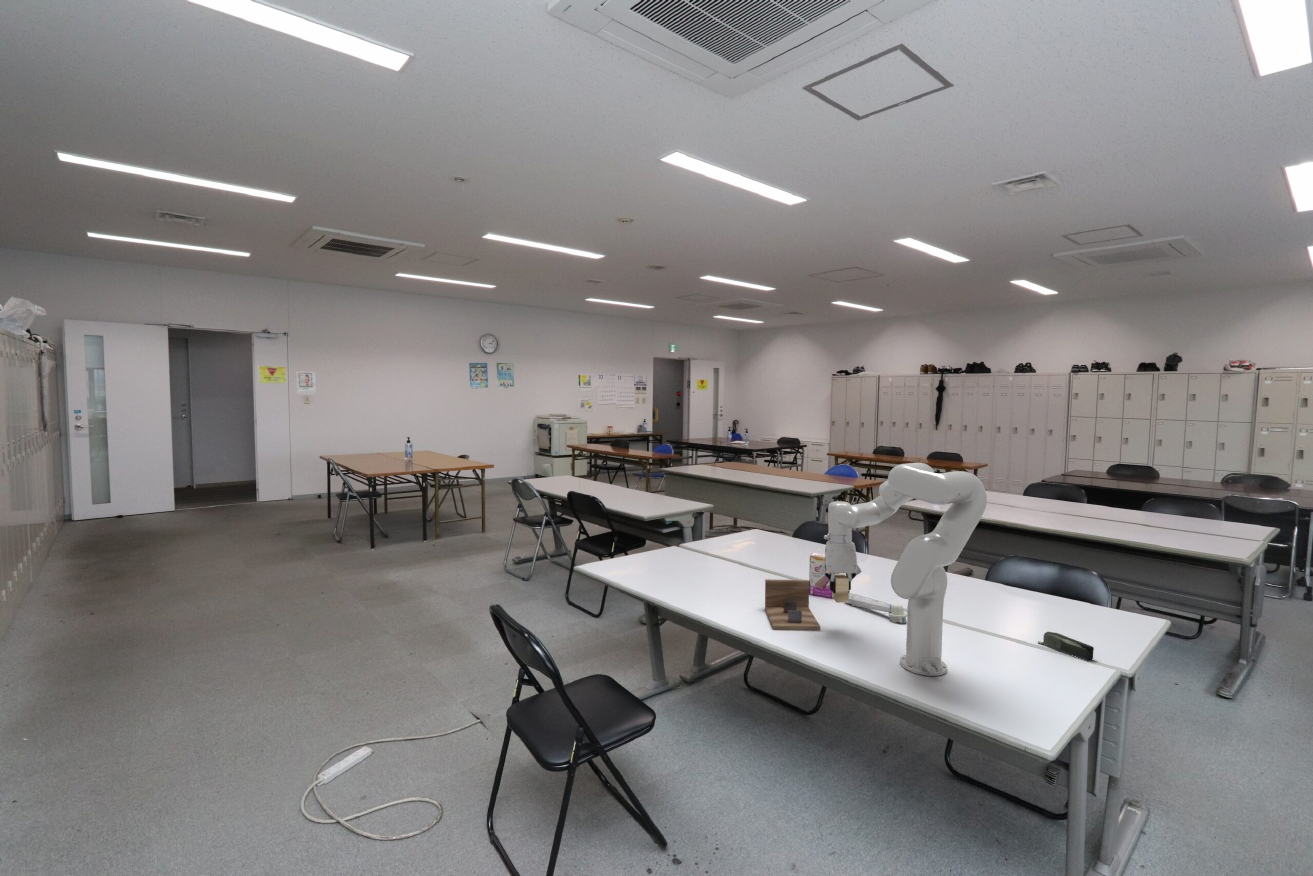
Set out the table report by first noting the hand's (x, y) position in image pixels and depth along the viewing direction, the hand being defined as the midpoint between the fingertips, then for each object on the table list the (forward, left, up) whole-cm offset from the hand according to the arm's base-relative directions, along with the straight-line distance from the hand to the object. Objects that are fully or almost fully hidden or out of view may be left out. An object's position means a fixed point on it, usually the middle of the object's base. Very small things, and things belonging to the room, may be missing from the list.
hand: (840, 591), depth 197 cm
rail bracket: (0, 0, -3) cm, 3 cm away
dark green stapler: (-13, -66, -14) cm, 69 cm away
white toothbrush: (+18, -18, -14) cm, 29 cm away
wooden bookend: (+10, +14, -14) cm, 23 cm away
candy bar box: (+37, -4, -14) cm, 39 cm away
